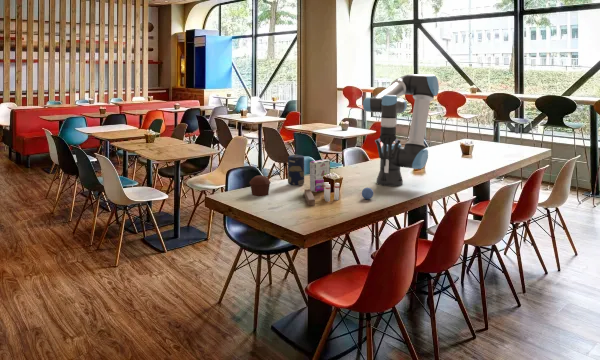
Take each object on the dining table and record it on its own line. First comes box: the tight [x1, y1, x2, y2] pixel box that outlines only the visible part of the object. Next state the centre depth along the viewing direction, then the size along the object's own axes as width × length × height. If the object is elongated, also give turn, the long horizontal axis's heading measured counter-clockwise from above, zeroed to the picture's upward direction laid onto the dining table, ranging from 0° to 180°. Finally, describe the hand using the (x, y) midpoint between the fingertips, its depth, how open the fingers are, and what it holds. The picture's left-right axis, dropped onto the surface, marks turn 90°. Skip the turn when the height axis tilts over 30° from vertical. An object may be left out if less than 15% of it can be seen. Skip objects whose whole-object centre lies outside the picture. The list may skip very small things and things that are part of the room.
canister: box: [287, 153, 305, 187], centre depth 301 cm, size 10×10×18 cm
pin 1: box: [323, 182, 329, 200], centre depth 270 cm, size 2×2×8 cm
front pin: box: [333, 182, 340, 201], centre depth 268 cm, size 2×2×8 cm
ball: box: [361, 187, 374, 200], centre depth 270 cm, size 6×6×6 cm
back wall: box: [304, 188, 316, 207], centre depth 268 cm, size 3×22×3 cm, turn 5°
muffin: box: [249, 174, 272, 197], centre depth 279 cm, size 12×11×10 cm
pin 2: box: [324, 183, 331, 202], centre depth 266 cm, size 2×2×8 cm
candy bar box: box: [309, 159, 331, 193], centre depth 289 cm, size 11×5×16 cm, turn 129°
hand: (386, 172), depth 268 cm, fingers closed
